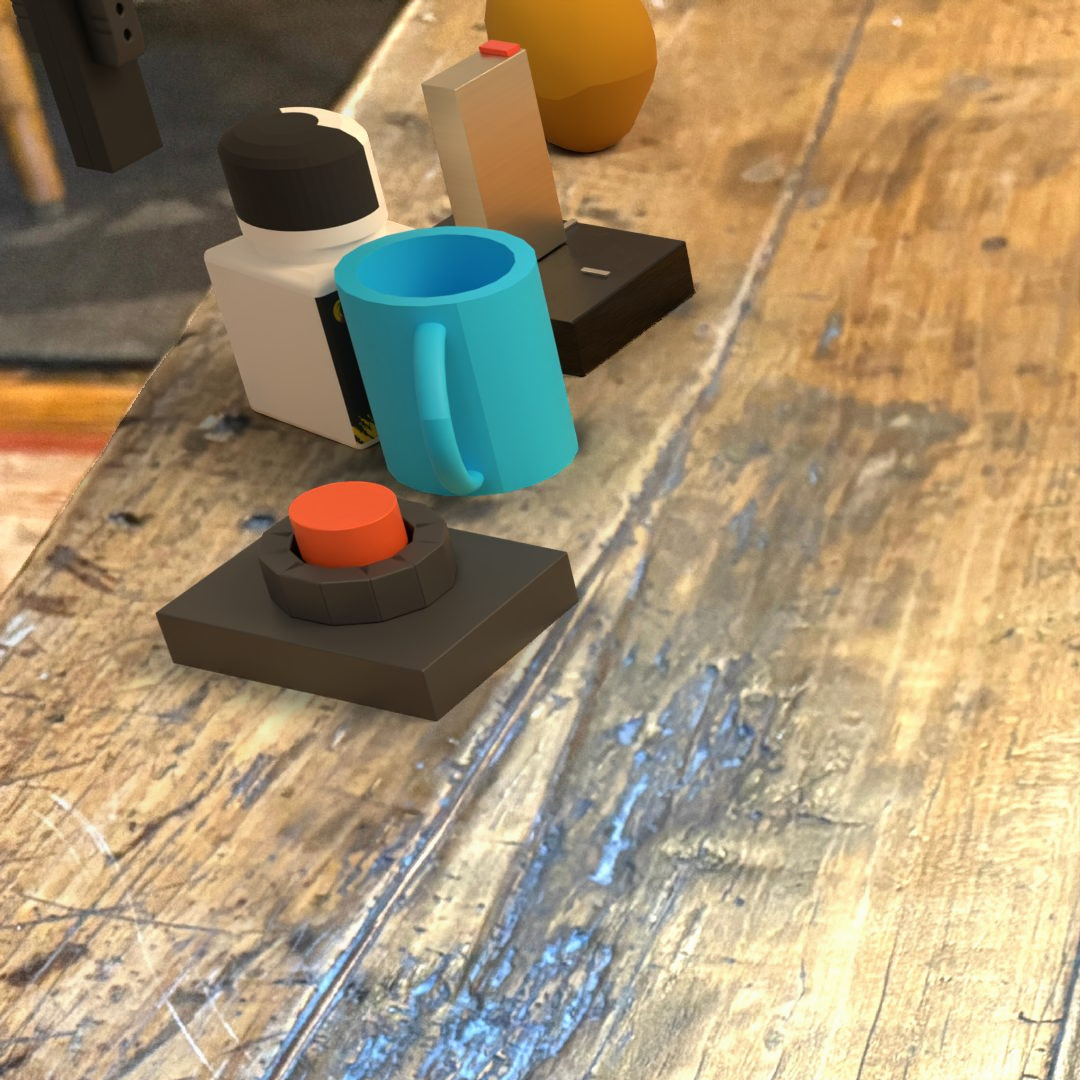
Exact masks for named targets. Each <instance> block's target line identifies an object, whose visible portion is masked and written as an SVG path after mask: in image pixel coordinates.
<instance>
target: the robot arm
mask: <svg viewBox="0 0 1080 1080" xmlns="http://www.w3.org/2000/svg"><path fill="white" fill-rule="evenodd" d="M9 1H10V3H11V7H12V10H13V13H14V16H16V17H15V19H16V22H17V27H18V29H19V31H20V35H21V37H22V38H23V40H24V41H25V43H26V45H27V47H28V48H29V50H30V52H31V53H35V54H39V55H40V58H41V61H42V63H43V67H44V70H45V73H46V76H47V79H48V82H49V86H50V89H51V91H52V95H53V97H54V101H55V105H56V107H57V110H58V113H59V116H60V119H61V123H62V125H63V129H64V132H65V135H66V138H67V140H68V144H69V147H70V149H71V150H70V151H71V153H72V156H73V159H74V162H75V165H76V168H82V169H88V170H93V171H96V172H97V171H98V172H101V173H107V174H112V175H113V174H116V173H117V172H119V171H121V170H123V169H125V168H127V167H128V166H130V165H132V164H134V163H136V162H138V161H140V160H141V159H143V158H145V157H147V156H149V155H151V154H153V153H154V152H156V151H158V150H160V149H162V148H164V143H163V141H162V137H161V134H160V131H159V127H158V124H157V121H156V118H155V113H154V111H153V107H152V103H151V101H150V97H149V94H148V91H147V87H146V84H145V81H144V77H143V74H142V71H141V67H140V63H139V60H138V58H139V57H141V56H143V55H145V36H144V33H143V29H142V26H141V23H140V21H139V16H138V13H137V9H136V8H135V3H134V2H135V1H134V0H9Z"/></svg>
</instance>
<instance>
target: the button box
mask: <svg viewBox="0 0 1080 1080" xmlns="http://www.w3.org/2000/svg"><path fill="white" fill-rule="evenodd" d="M396 498H397V497H396ZM397 502H398V505H399V509H400V512H401V516H402V519H403V523H404V526H405V530H406V534H407V537H408V545H407V546H406V547H404V548H403V549H402V550H401V551H399V552H398V553H397V554H395V555H394V556H393V557H390V558H387V559H384V560H381V561H378V562H375V563H371V564H368V565H365V566H356V567H342V568H326V567H322V566H317V565H312V564H308V563H306V562H305V561H304V560H303V558H302V556H301V553H300V550H299V547H298V544H297V541H296V538H295V534H294V531H293V528H292V525H291V522H290V518H289V515H286V516H284V517H283V518H282V519H280V520H278V522H276V523H274V525H272V526H271V527H269V528H268V529H266V530H265V531H263V533H262V534H261V536H260V537H259V538H258V539H256V540H255V541H253V542H252V543H251V544H249V545H248V546H245V548H244V549H242V550H240V552H238V553H237V554H235V555H234V556H233V557H231V558H230V559H228V560H227V561H225V562H224V563H223V564H221V565H220V566H219V567H217V568H216V569H214V570H213V571H211V572H210V573H209V574H207V575H206V576H204V577H203V578H201V580H199V581H197V582H196V583H195V584H193V585H192V586H190V587H189V588H188V589H186V590H185V591H184V592H182V593H180V594H179V595H177V597H175V598H174V599H172V600H171V601H170V602H168V603H167V604H166V605H164V606H162V607H161V608H160V609H158V610H157V611H156V612H155V617H156V619H157V623H158V626H159V627H160V630H161V633H162V636H163V639H164V641H165V644H166V647H167V649H168V652H169V656H170V659H171V661H172V663H173V664H175V665H176V664H177V665H179V666H180V665H181V666H184V667H190V668H194V669H199V670H203V671H206V672H212V673H216V674H221V675H225V676H230V677H234V678H238V679H243V680H247V681H252V682H256V683H261V684H265V685H270V686H275V687H278V688H279V687H280V688H283V689H289V690H292V691H297V692H301V693H306V694H310V695H314V696H315V695H316V696H319V697H324V698H328V699H333V700H336V701H337V700H338V701H341V702H347V703H350V704H351V703H352V704H355V705H360V706H364V707H368V708H373V709H378V710H383V711H386V712H391V713H396V714H400V715H404V716H405V715H406V716H410V717H414V718H418V719H423V720H426V721H432V722H439V721H440V720H441V719H442V718H443V717H445V716H446V715H447V714H448V713H449V712H451V710H453V709H454V708H455V707H457V705H458V704H460V703H461V702H462V701H463V700H465V699H466V698H467V697H468V696H469V695H471V694H472V692H474V691H475V690H476V689H478V688H479V687H480V686H481V685H482V684H483V683H485V681H487V680H488V679H489V678H491V677H492V676H493V675H494V674H495V673H496V672H498V671H499V670H500V669H501V668H502V667H503V666H504V665H506V664H507V663H508V662H509V661H510V660H511V659H513V658H514V657H515V656H516V655H517V654H519V653H520V652H521V651H522V650H523V649H524V648H526V647H527V646H528V645H529V644H531V642H533V641H534V640H535V639H536V638H538V637H539V636H540V635H541V634H542V633H543V632H545V631H546V630H547V629H548V628H549V627H551V626H552V625H553V624H554V623H555V622H556V621H557V620H559V619H560V618H561V617H562V616H563V615H565V613H567V612H568V611H569V610H570V609H572V608H573V607H574V606H575V605H576V604H577V603H579V596H578V591H577V587H576V583H575V578H574V575H573V571H572V566H571V562H570V557H569V553H568V551H565V550H559V549H555V548H551V547H545V546H540V545H536V544H530V543H525V542H521V541H517V540H511V539H506V538H501V537H496V536H491V535H487V534H481V533H478V532H477V533H476V532H472V531H467V530H462V529H457V528H452V527H448V524H447V521H446V520H445V519H444V518H443V517H441V516H440V515H439V514H438V513H436V512H435V511H434V510H433V509H431V508H430V506H428V505H427V504H425V503H423V502H419V501H413V500H407V499H403V498H399V497H398V498H397Z"/></svg>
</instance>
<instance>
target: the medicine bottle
mask: <svg viewBox="0 0 1080 1080" xmlns="http://www.w3.org/2000/svg"><path fill="white" fill-rule="evenodd" d="M216 152H217V154H218V158H219V161H220V165H221V169H222V171H223V175H224V178H225V181H226V186H227V189H228V191H229V195H230V198H231V201H232V205H233V208H234V211H235V214H236V218H237V221H238V224H239V229H240V231H241V233H242V235H239V236H237V237H234V238H232V239H230V240H227V241H225V242H222V243H219V244H217V245H215V246H213V247H210V248H208V249H206V250H205V251H204V253H203V260H204V264H205V267H206V269H207V273H208V276H209V280H210V283H211V286H212V290H213V292H214V295H215V298H216V301H217V305H218V308H219V311H220V314H221V317H222V322H223V324H224V328H225V330H226V334H227V337H228V341H229V344H230V347H231V349H232V353H233V356H234V359H235V362H236V366H237V369H238V371H239V375H240V378H241V381H242V385H243V387H244V391H245V394H246V397H247V402H248V404H249V406H250V408H251V409H252V410H253V411H254V412H256V413H257V414H261V415H263V416H267V417H269V418H272V419H275V420H277V421H280V422H283V423H286V424H288V425H291V426H294V427H295V428H296V427H297V428H298V429H300V430H304V431H307V432H309V433H312V434H315V435H318V436H321V437H323V438H326V439H328V440H331V441H335V442H336V443H339V444H343V445H345V446H347V447H350V448H353V449H356V450H359V451H360V450H366V449H368V448H370V447H371V446H373V445H375V444H378V443H380V440H379V436H378V433H377V429H376V426H375V422H374V418H373V415H372V411H371V408H370V404H369V401H368V397H367V394H366V390H365V387H364V383H363V379H362V376H361V372H360V369H359V365H358V362H357V358H356V355H355V351H354V348H353V344H352V340H351V337H350V333H349V330H348V326H347V323H346V319H345V316H344V312H343V309H342V305H341V301H340V298H339V294H338V291H337V287H336V284H335V276H334V268H335V267H336V266H337V264H338V263H339V262H340V260H341V259H342V258H343V256H345V255H346V254H348V253H349V252H351V251H353V250H354V249H356V248H357V247H359V246H360V245H362V244H365V243H368V242H370V241H373V240H376V239H378V238H381V237H384V236H386V235H391V234H395V233H400V232H405V231H409V230H414V229H415V227H411V226H408V225H405V224H402V223H398V222H396V221H392V220H389V219H388V218H389V210H388V207H387V204H386V200H385V196H384V192H383V188H382V185H381V181H380V177H379V173H378V170H377V165H376V161H375V158H374V154H373V150H372V146H371V143H370V138H369V135H368V133H367V130H366V129H365V128H364V127H363V126H362V125H361V124H359V122H357V121H356V120H354V119H353V118H352V117H350V116H348V115H345V114H342V113H338V112H335V111H333V110H329V109H323V108H320V107H319V108H318V107H310V106H309V107H308V106H293V107H292V106H290V107H281V108H280V107H279V108H273V109H268V110H265V111H260V112H257V113H254V114H252V115H249V116H247V117H245V118H243V119H241V120H240V121H238V122H236V123H235V124H233V125H231V126H230V127H228V128H227V129H226V130H225V131H224V132H223V133H222V135H221V137H220V139H219V141H218V143H217V146H216Z"/></svg>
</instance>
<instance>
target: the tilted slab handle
mask: <svg viewBox="0 0 1080 1080" xmlns="http://www.w3.org/2000/svg"><path fill="white" fill-rule="evenodd" d="M420 85H421V90H422V95H423V98H424V102H425V107H426V111H427V115H428V119H429V123H430V127H431V131H432V135H433V139H434V144H435V148H436V151H437V155H438V159H439V164H440V168H441V171H442V176H443V179H444V185H445V188H446V192H447V197H448V200H449V205H450V208H451V212H452V214H453V217H454V221H455V225H456V226H458V227H480V228H485V229H491V230H497V231H503V232H505V233H508V234H510V235H513V236H516V237H518V238H521V239H523V240H524V241H525V242H526V243H527V244H528V245H530V246H531V247H532V248H533V249H534V251H535V255H536V259H537V260H538V259H540V258H541V257H543V256H544V255H546V254H547V253H549V252H550V251H552V250H553V249H555V248H556V247H558V246H559V245H561V244H562V243H564V242H565V241H567V238H566V233H565V228H564V224H563V220H564V219H563V215H562V210H561V206H560V201H559V196H558V192H557V187H556V182H555V177H554V173H553V169H552V164H551V159H550V155H549V151H548V145H547V141H546V138H545V136H544V131H543V127H542V122H541V118H540V113H539V108H538V104H537V99H536V94H535V90H534V85H533V81H532V76H531V71H530V67H529V62H528V57H527V53H526V49H521V48H520V45H519V44H515V43H509V42H503V41H497V40H490V41H488V40H487V41H485V42H484V43H482V44H480V45H479V46H478V51H477V52H474V53H473V54H471V55H470V56H468V57H466V58H464V59H462V60H460V61H459V62H457V63H455V64H453V65H451V66H450V67H448V68H446V69H444V70H443V71H441V72H439V73H437V74H435V75H433V76H432V77H429V79H426V80H424V81H423V82H421V83H420Z"/></svg>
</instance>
